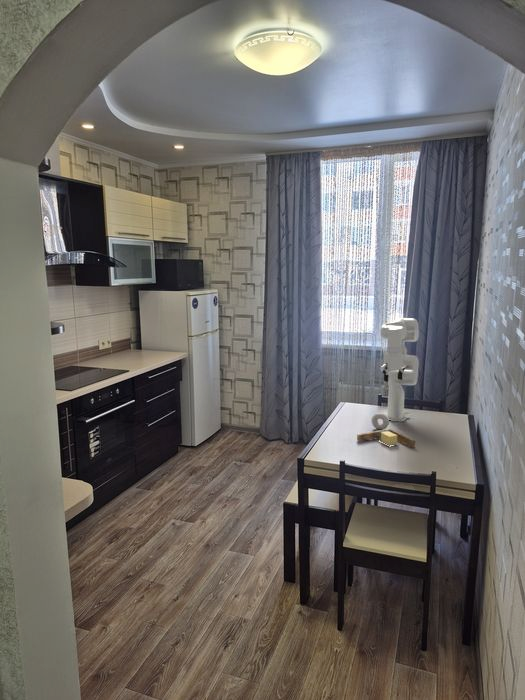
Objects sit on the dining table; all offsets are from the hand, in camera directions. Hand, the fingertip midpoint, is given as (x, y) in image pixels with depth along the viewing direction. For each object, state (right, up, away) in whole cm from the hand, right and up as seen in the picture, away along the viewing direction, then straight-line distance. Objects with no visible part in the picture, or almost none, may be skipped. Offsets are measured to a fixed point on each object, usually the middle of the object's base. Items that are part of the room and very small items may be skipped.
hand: (393, 380), depth 258 cm
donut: (-5, -29, +10) cm, 31 cm away
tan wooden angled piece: (-8, -33, -13) cm, 37 cm away
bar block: (-6, -33, -11) cm, 35 cm away
